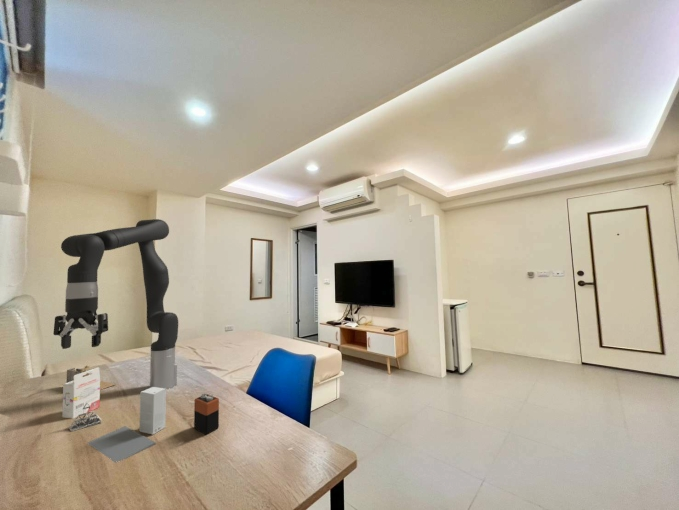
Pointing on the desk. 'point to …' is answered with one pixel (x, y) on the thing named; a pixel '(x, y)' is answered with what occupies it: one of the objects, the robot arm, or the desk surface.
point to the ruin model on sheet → (72, 372)
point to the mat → (121, 444)
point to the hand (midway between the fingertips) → (81, 347)
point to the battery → (206, 413)
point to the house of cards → (88, 421)
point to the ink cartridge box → (81, 394)
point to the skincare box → (152, 410)
